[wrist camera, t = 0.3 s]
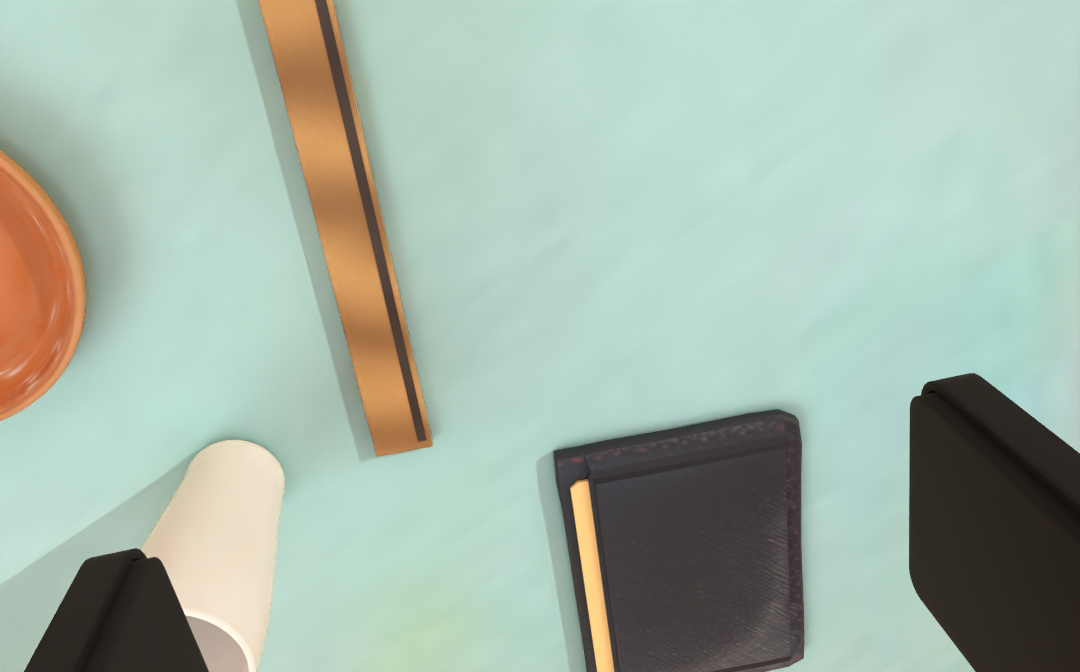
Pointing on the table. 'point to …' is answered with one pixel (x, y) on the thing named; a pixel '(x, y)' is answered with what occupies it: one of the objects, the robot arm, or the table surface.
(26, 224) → the saucer
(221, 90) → the table surface
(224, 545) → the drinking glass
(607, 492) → the wallet
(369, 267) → the ruler
